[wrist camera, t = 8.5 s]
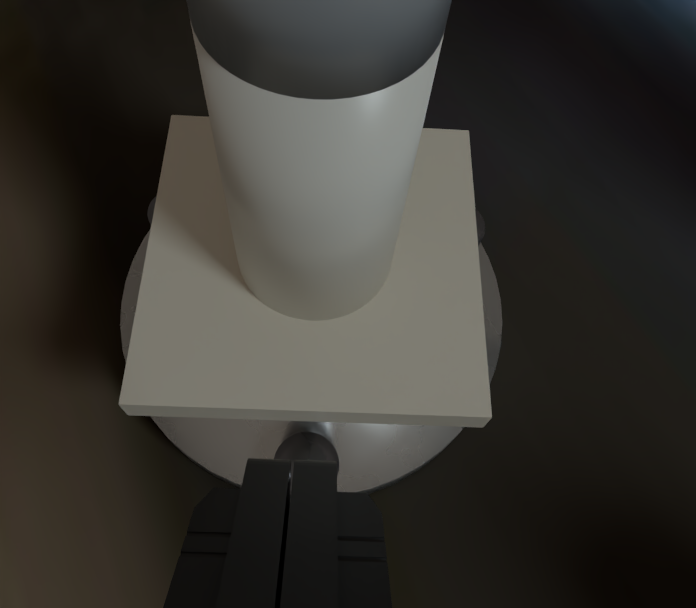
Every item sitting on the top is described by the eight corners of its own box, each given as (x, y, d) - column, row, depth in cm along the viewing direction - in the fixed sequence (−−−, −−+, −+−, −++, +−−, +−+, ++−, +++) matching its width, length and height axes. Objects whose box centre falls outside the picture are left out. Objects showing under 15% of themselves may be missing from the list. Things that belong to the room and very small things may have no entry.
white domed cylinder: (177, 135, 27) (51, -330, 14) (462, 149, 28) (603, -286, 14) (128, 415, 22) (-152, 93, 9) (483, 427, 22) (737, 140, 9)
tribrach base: (311, 114, 33) (311, 54, 30) (563, 313, 29) (599, 273, 26) (52, 316, 28) (13, 274, 24) (317, 595, 24) (318, 593, 20)
